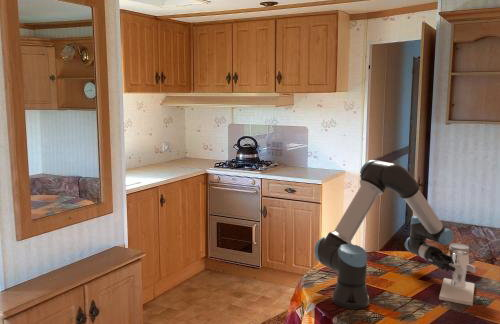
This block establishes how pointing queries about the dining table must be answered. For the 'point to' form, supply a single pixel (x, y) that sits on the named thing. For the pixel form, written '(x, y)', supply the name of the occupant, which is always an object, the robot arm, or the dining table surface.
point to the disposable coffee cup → (458, 247)
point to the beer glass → (462, 262)
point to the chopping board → (457, 293)
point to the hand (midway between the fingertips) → (468, 271)
